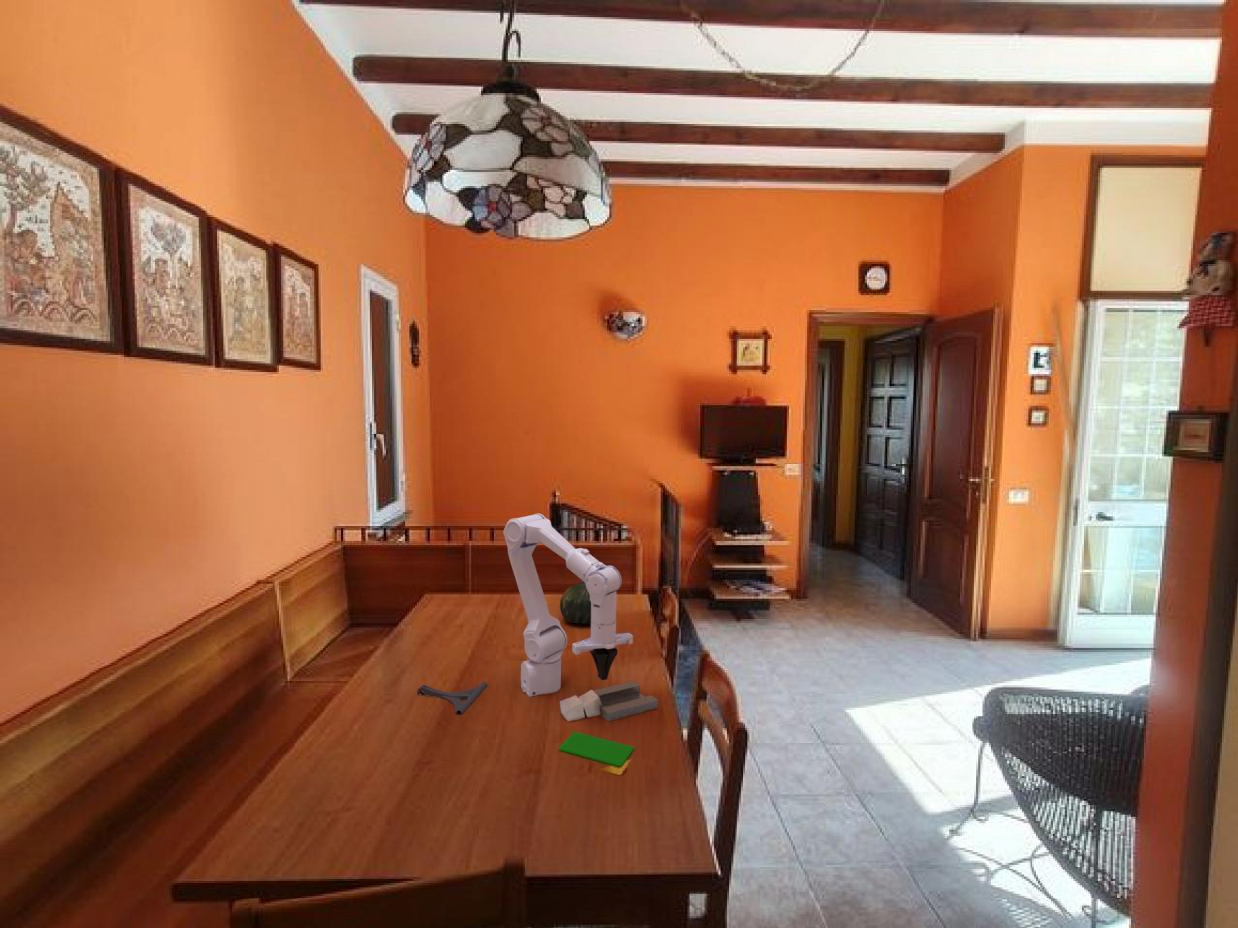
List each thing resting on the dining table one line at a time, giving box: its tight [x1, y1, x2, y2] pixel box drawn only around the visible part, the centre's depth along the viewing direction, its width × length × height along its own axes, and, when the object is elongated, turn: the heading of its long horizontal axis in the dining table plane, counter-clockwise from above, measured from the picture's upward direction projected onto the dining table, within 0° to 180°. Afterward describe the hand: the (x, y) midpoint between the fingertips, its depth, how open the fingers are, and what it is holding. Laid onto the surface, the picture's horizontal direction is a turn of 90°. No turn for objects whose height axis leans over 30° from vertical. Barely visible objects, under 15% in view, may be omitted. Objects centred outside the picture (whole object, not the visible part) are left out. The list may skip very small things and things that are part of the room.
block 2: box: [578, 689, 603, 718], centre depth 136 cm, size 4×4×4 cm
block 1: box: [559, 694, 586, 722], centre depth 134 cm, size 4×4×4 cm
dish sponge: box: [558, 731, 635, 776], centre depth 121 cm, size 7×14×2 cm, turn 66°
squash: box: [559, 580, 591, 626], centre depth 196 cm, size 14×15×15 cm
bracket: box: [416, 681, 488, 715], centre depth 145 cm, size 14×15×3 cm
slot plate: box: [585, 680, 659, 722], centre depth 140 cm, size 13×11×3 cm
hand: (602, 678), depth 137 cm, fingers closed
